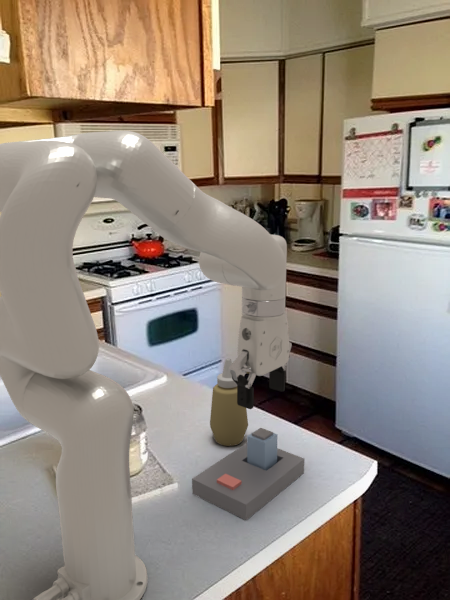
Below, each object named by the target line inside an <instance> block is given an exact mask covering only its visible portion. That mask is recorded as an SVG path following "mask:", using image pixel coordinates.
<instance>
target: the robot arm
mask: <svg viewBox="0 0 450 600" xmlns="http://www.w3.org/2000/svg"><path fill="white" fill-rule="evenodd" d="M94 198H101V199H102V198H103V199H111V200H113V201H116V202H117V203H119V204H120V205H122V206H123V207H124V208H125V209H127V210H128V211H129V212H131V213H132V214H133V215H134V216H135V217H137V218H138V219H139V220H141V222H143V223H144V224H145V225H147V226H148V227H150V228H151V230H153V231H154V232H155V233H156V234H158V235H159V236H160V237H162V238H163V239H164V240H166V241H168V242H170V243H172V244H175V245H178V246H180V247H182V248H184V249H188V250H192V251H195V252H198V253H199V256H198V257H199V258H198V266H199V267H200V271H201V272H202V274H203V275H204V276H205V277H206V278H207V279H208V280H210V281H212V282H215V283H219V284H225V285H228V286H237V287H241V315H242V316H241V318H240V324H239V330H238V339H237V340H238V341H237V355H236V358H235V360H234V361H232V364H231V366H230V367H229V370H230V373H231V375H232V379H233V381H234V382H235V384H236V385H237V404H238V405H239V406H242V407H245V408H246V409H248V410H252V409H254V405H255V404H254V403H255V402H254V401H255V399H254V397H255V395H254V394H255V388H254V386H252V385H253V383H254V381H255V379H256V376H258V377H262V376H264V375H267V374H269V376H268V378H269V379H268V387H269V389H270V390H271V389H272V390H275V391H278V392H282V393H283V392H285V390H286V370H287V369H288V362H289V360H290V354H291V349H292V346H293V345H292V342H290V334H289V333H290V332H289V331H290V330H289V329H290V328H289V321H288V315H287V311H286V291H287V290H286V288H287V257H288V256H287V255H288V250H287V249H288V244H287V240H286V239H285V238H284V237H283V236H281V235H278V234H271V233H270V232H269V231H268V230H266V228H265V227H263V226H262V225H261V224H260V223H258V222H257V221H256V220H254V219H253V218H251V217H250V216H248V215H247V214H245V213H243V212H241V211H239V210H237V209H235V208H234V207H231V206H230V205H228V204H225V203H224V202H223V201H222V200H221V201H220V200H219V199H217V198H215V197H213V196H211V195H209V194H207V193H205V192H204V191H202V189H200V188H199V187H198V186H197V185H196V184H195V183H194V182H193V181H192V180H191V179H190V178H189V177H188V176H186V174H185V173H184V172H183V171H181V170H180V168H179V167H178V166H177V165H176V164H175V163H174V162H173V161H172V160H171V159H169V157H167V156H166V155H165V154H164V153H163V152H162V151H161V150H160V149H159V147H157V145H155V144H154V143H153V142H152V141H151V140H150V139H148V138H147V137H146V136H144V135H143V134H140V133H139V132H135V131H131V130H111V131H110V130H108V131H92V132H84V133H77V134H72V135H65V136H58V137H48V138H39V139H29V140H22V141H21V140H19V141H10V142H9V141H7V142H2V143H0V294H1V296H0V379H1V380H2V383H3V385H4V387H5V390H6V391H7V393H8V396H9V398H10V399H11V400H10V401H12V404H13V406H14V407H15V409H16V410H17V412H18V413H19V415H20V416H21V417H22V418H23V419H24V420H26V421H27V423H29V424H31V425H33V426H34V427H36V428H38V429H39V430H40V431H43V432H44V433H46V434H48V435H49V436H50V437H53V438H54V439H55V440H57V441H58V442H59V444H60V447H61V454H60V458H59V461H58V464H57V467H56V471H55V489H56V498H57V504H58V514H59V525H60V534H61V544H62V545H61V546H62V554H63V557H62V558H63V566H61V567H59V568H58V569H57V570H56V571H57V579H56V580H55V581H53V583H52V586H51V587H50V588H48V589H47V590H44V591H42V592H41V593H39V594H38V595H37V596H35V597H34V598H33V599H32V600H141V598H143V596H144V594H145V593H146V590H147V587H148V580H149V579H148V569H147V567H146V565H145V563H144V562H143V560H142V559H141V558H140V557H139V556H138V555H137V554H136V550H135V548H136V547H135V532H134V519H133V518H134V517H133V502H132V501H133V500H132V499H133V498H132V486H131V473H130V472H131V471H130V449H131V448H130V446H131V437H132V432H133V425H134V419H135V417H134V415H135V411H134V404H133V401H132V398H131V397H130V394H129V393H128V392H127V391H126V389H125V388H124V387H123V386H122V385H121V384H120V383H118V382H116V381H115V380H113V379H112V378H110V377H108V376H105V375H103V374H101V373H98V372H97V371H96V372H95V371H93V370H91V369H92V367H93V366H94V365H95V364H96V361H97V359H98V357H99V351H100V343H99V335H98V332H97V331H98V330H97V327H96V324H95V322H94V319H93V316H92V313H91V310H90V308H89V305H88V302H87V300H86V297H85V294H84V291H83V288H82V285H81V283H80V280H79V277H78V272H77V269H76V265H75V261H74V255H73V250H74V249H73V248H74V247H73V246H74V241H75V240H74V239H75V237H76V234H77V231H78V228H79V226H80V224H81V222H82V219H84V216H85V215H86V213H87V211H88V209H89V208H90V206H91V205H92V202H93V201H94ZM246 374H247V375H248V377H247V378H246V377H245V375H246Z"/></svg>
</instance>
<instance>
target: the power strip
mask: <svg viewBox="0 0 450 600" xmlns="http://www.w3.org/2000/svg"><path fill="white" fill-rule="evenodd" d="M304 473H305V458H304V457H300V456H298V455H296V454H293V453H291V452H289V451H285V450H282V449H281V448H278V447H277V463H276V464H275V465H273V466H272V467H271V468H269V469H268V470H267V471H265V470H263V469H261V468H258V467H256V466H254V465H251V464H249V463H247V442H246V443H244V444H243V445H241V446H240V447H238V448H237V449H235V450H234V451H232V452H231V453H229V454H228V455H226V456H225V457H223V458H222V459H219V461H217V462H215V463H214V464H212V465H211V466H209V467H208V468H207V469H205V470H203V471H201V472H200V473H198V474H197V475H196V476H193V478H192V479H191V484H192V485H191V486H192V487H191V488H192V489H191V491H192V495H194V496H196V497H198V498H200V499H202V500H204V501H207V502H208V503H210V504H212V505H215V506H216V507H218V508H220V509H222V510H224V511H227V512H228V513H230V514H232V515H234V516H236V517H238V518H240V519H242V520H244V521H248V520H249V519H250V518H251V517H252V516H254V515H255V514H256V513H257V512H258V511H260V510H261V509H263V507H264V506H266V505H267V504H268V503H269V502H271V501H272V500H273V499H275V497H277V496H278V495H279V494H280V493H281V492H283V491H284V490H285V489H287V487H289V486H290V485H291V484H292V483H294V482H295V481H296V480H298V478H300V477H301V476H302V475H304Z"/></svg>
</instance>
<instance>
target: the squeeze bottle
mask: <svg viewBox="0 0 450 600" xmlns="http://www.w3.org/2000/svg"><path fill="white" fill-rule="evenodd" d="M232 363H233V361H232V359H231V358H225V361H224V365H223V371H222V373H220V374H218V375H217V376H216V382H217V383H216V384H215V385H214V386H213V387H212V393H211V396H212V397H211V405H210V419H209V427H210V429H211V432H212V435H213V438H214V440H215V442H216V443H218V444H219V445H221V446H225V447H226V446H227V447H229V446H231V447H232V446H236V445H237V446H238V445H239V444H241V443H242V442H243V440H244V438H245V436H246V432H247V429H248V426H249V422H248V421H249V419H248V410H247V409H248V408H245V407H242V406H239V405H238V404H237V385H236V384H235V382H234V381H233V379H232V375H231V373H230V370H229V367H230V366H231V364H232Z"/></svg>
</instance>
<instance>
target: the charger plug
mask: <svg viewBox="0 0 450 600" xmlns="http://www.w3.org/2000/svg"><path fill="white" fill-rule="evenodd" d="M278 435H279V434H277V433H275V432H273V431H271V430H268V429H265V428H262V427H259V428H258V429H256V430H254V431H253V432H251V433H250V434H248V435H247V438H246V441H247V442H246V443H247V463H249V464H251V465H254V466H256V467H258V468H261V469H263V470H265V471H267V470H268V469H269V468H271V467H272V466H273V465H275V464H276V463H277V448H278Z"/></svg>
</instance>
